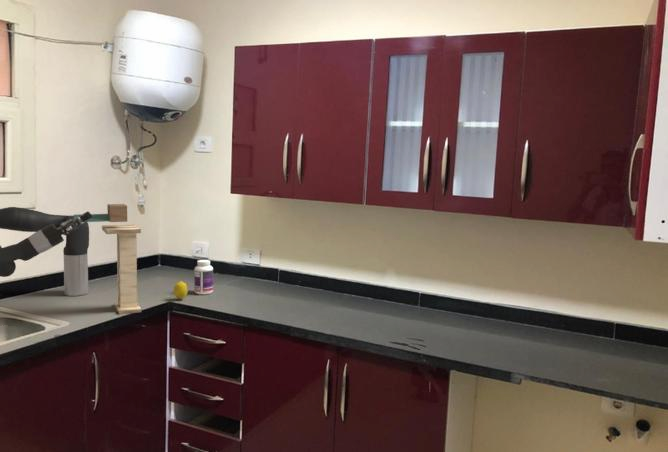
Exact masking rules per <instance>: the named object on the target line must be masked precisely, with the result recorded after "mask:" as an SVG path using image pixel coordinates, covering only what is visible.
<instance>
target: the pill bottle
mask: <svg viewBox="0 0 668 452" xmlns="http://www.w3.org/2000/svg"><path fill="white" fill-rule="evenodd" d="M196 264H197V265H196V266H195V267H194V269H193V271H194V275H193V276H194V293H195V294H197V295H210V294H212V293H213V292H214V267H213V266H212V265H211V260H209V259H208V260H207V259H198V260H197V263H196Z"/></svg>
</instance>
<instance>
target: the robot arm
mask: <svg viewBox="0 0 668 452" xmlns="http://www.w3.org/2000/svg"><path fill="white" fill-rule="evenodd" d="M83 214H84V215H82V216H81V217H78V218H77V219H75V220H74V215H63V214H62V215H61V214H52V213H51V214H50V213H46V212H42V211H38V210H34V209H29V208H24V207H17V206H9V207H4V208H0V229H1V230H9V231H13V232H14V231H17V232H25V233H31V235H30V236H28V237H26V238H25V239H23V240H21V241H18V243H15V244H11V245H8V246H4V247H2V246H1V245H0V277H2V278H6V277H9V276H11V275H13V274H14V273H15V271H16V268H17V265H16V263H15V261H17V260H21V261H24V262H26V261H30V260H32V259H33V258H36V257H37V256H39V255H40V254H43V253H45V252H46V251H49V250H51V249H53V248H54V247H55V246H56V247H57V246H58V245H59V244H61V243H63V242H64V241H65V246H64V247H63V251H62V252H63V253H62V254H63V278H64V279H63V283H64V284H63V287H64V289H63V290H64V292H63V293H64V295H65V296H69V297H73V296H74V297H77V296H85V295H87V294H88V293H89V268H88V266H89V264H88V260H89V259H88V257H89V256H88V249H89V247H90V225H89V222H85V221H86V220H88V219H90V218H92V215H91V214H92V213H91V212H90V211H85V212H84V213H83ZM63 236H65V240H64V237H63Z"/></svg>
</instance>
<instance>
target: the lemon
mask: <svg viewBox="0 0 668 452" xmlns="http://www.w3.org/2000/svg"><path fill="white" fill-rule="evenodd" d="M173 294H174V296H175V297H176V298H177V299H179V300H180V301H181V300H183V299H184V298H185V297H186V296H187V295H188V286H187V284H186V282H183V281H182V280H179V281H177V282H176V283H175V285H174V287H173Z"/></svg>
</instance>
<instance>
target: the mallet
mask: <svg viewBox="0 0 668 452" xmlns="http://www.w3.org/2000/svg"><path fill="white" fill-rule="evenodd" d="M106 205H107V206H106V207H107V208H106V209H107V213H90V214H91V215H92V218H90V219H88V220H86V221H85V222H88V223H98V222H99V223H101V222H109V223H125V222H128V205H126V204H125V203H112V204H111V203H108V204H106ZM82 215H84V213H81V214H78V213H77V214H73V216H74V220H75V219H77V218H78V217H81V216H82Z"/></svg>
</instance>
